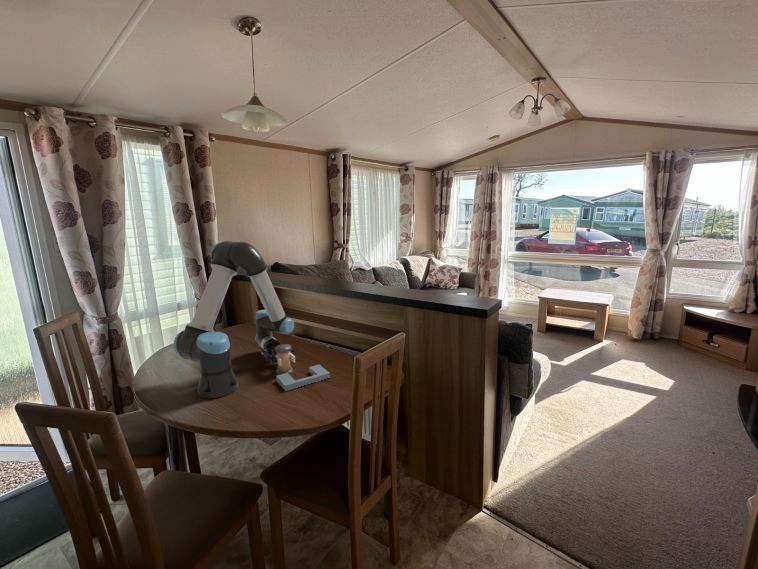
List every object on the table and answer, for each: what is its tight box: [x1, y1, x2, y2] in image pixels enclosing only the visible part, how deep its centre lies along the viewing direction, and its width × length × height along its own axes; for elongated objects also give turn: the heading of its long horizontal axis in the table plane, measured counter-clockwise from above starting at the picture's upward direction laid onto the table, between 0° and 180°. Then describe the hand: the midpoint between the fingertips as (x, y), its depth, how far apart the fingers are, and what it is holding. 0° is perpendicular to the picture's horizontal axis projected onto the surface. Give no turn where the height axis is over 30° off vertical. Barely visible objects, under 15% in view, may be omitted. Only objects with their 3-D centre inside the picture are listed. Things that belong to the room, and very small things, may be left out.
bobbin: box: [275, 343, 294, 376], centre depth 161 cm, size 7×7×12 cm
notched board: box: [275, 364, 331, 392], centre depth 154 cm, size 20×11×2 cm, turn 124°
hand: (287, 361), depth 156 cm, fingers closed on bobbin, 5 cm apart
